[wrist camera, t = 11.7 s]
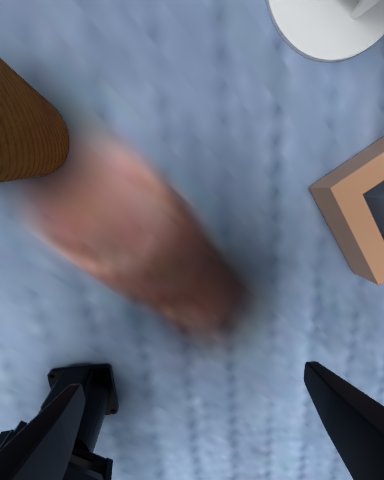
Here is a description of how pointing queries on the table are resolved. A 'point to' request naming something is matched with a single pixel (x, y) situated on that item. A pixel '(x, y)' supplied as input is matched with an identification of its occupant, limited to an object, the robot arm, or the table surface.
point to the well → (355, 210)
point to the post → (376, 204)
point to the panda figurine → (328, 26)
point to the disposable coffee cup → (28, 130)
